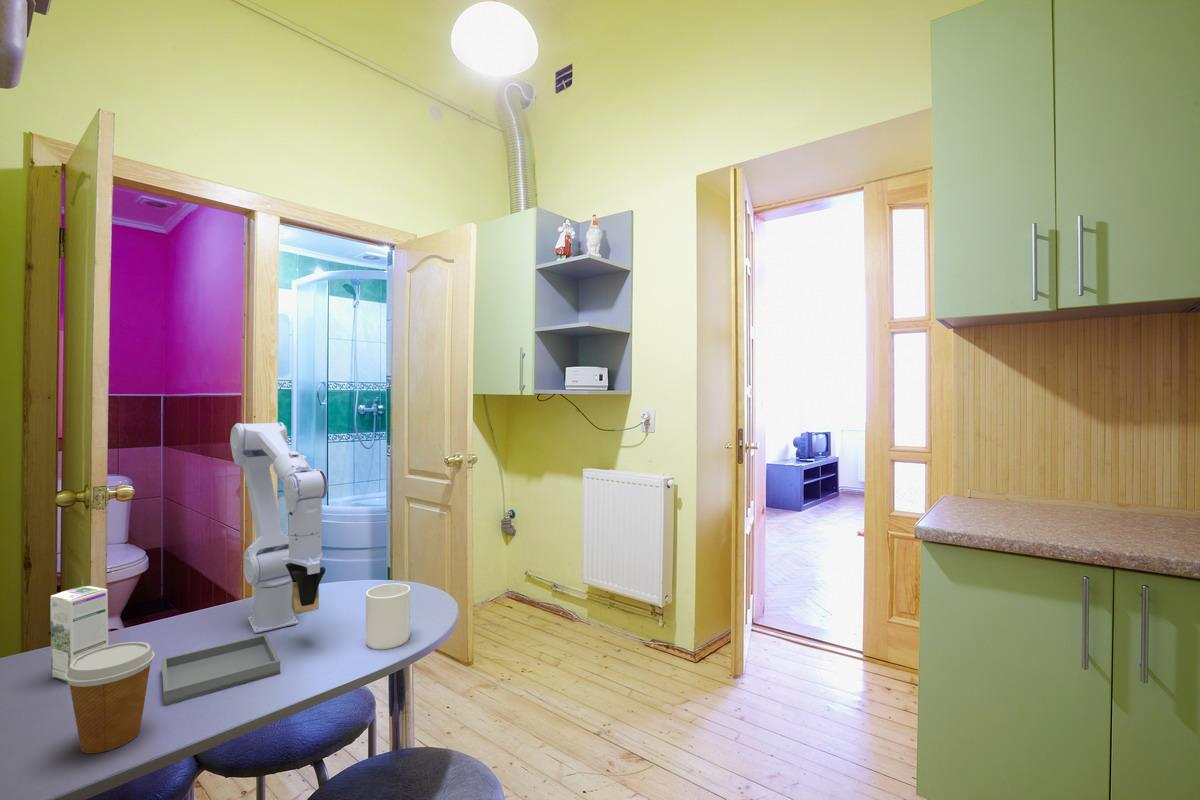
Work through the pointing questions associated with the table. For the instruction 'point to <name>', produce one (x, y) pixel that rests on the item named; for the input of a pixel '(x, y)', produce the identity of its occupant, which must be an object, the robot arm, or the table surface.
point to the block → (297, 604)
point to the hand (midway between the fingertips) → (305, 601)
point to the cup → (387, 615)
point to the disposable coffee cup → (109, 694)
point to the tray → (217, 668)
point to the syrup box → (77, 625)
